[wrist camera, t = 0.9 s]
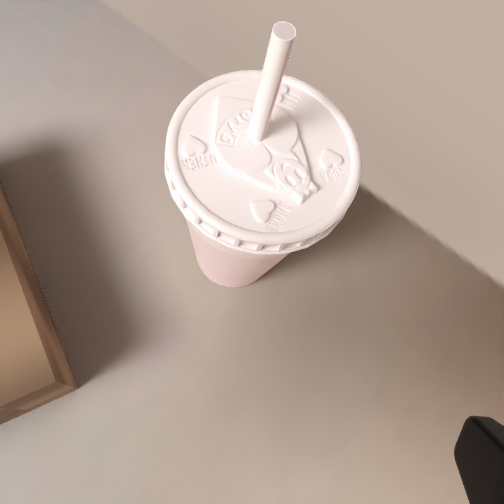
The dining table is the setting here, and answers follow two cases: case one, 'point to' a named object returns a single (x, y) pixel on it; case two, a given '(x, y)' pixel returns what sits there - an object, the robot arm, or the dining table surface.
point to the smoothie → (259, 166)
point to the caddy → (25, 331)
